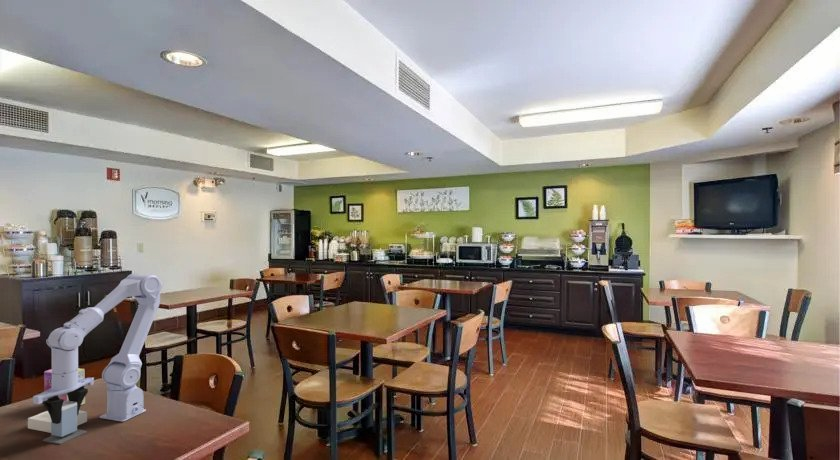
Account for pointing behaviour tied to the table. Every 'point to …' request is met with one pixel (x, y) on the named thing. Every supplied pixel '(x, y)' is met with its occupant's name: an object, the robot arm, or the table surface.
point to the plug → (66, 420)
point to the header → (44, 421)
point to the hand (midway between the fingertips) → (65, 419)
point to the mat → (64, 437)
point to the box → (49, 382)
